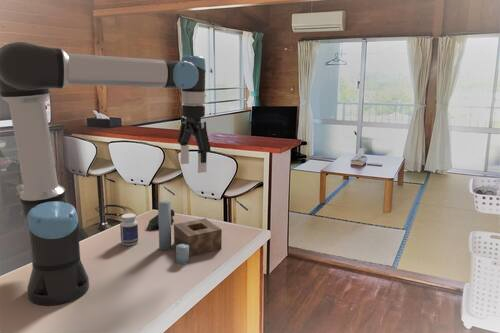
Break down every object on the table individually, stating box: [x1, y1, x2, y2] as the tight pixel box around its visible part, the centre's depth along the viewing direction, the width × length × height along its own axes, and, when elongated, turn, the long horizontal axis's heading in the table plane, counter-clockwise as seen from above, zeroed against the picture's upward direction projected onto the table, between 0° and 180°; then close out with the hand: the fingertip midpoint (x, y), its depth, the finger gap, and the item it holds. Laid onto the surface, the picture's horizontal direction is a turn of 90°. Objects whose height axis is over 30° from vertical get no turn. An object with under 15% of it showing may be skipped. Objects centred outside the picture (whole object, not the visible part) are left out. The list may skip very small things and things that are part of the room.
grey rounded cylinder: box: [175, 244, 190, 265], centre depth 134 cm, size 4×4×5 cm
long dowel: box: [157, 200, 172, 251], centre depth 142 cm, size 4×4×16 cm
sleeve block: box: [173, 217, 223, 257], centre depth 145 cm, size 12×12×7 cm
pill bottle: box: [119, 212, 139, 247], centre depth 146 cm, size 6×6×10 cm
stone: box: [147, 209, 175, 231], centre depth 163 cm, size 7×13×5 cm, turn 148°
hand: (193, 167), depth 144 cm, fingers open, 13 cm apart
